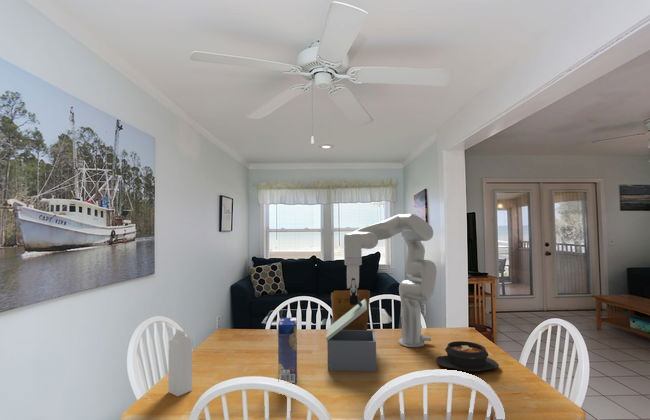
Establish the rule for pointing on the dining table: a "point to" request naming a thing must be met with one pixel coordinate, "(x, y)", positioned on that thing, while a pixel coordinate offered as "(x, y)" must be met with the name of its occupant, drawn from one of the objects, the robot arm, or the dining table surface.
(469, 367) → the casserole
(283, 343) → the beverage box
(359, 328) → the pancake mix bag
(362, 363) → the storage box
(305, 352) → the dining table surface
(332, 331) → the lid
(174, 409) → the dining table surface
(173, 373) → the milk
